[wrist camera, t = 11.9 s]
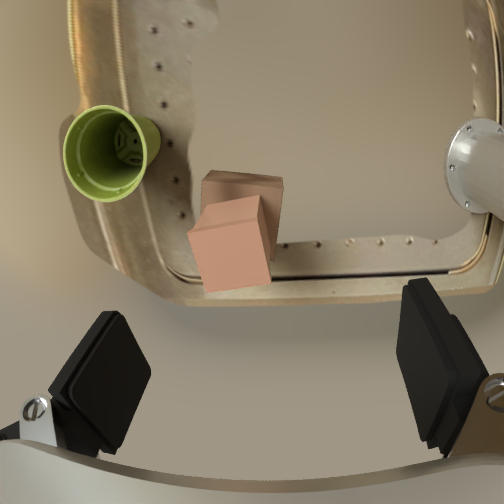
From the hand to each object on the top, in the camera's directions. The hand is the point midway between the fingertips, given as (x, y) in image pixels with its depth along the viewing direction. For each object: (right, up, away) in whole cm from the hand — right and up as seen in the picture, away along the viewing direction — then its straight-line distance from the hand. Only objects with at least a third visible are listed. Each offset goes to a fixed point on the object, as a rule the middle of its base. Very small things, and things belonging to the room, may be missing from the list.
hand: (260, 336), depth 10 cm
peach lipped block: (-2, +5, +22) cm, 23 cm away
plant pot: (-14, +16, +24) cm, 31 cm away
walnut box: (-1, +8, +27) cm, 28 cm away
